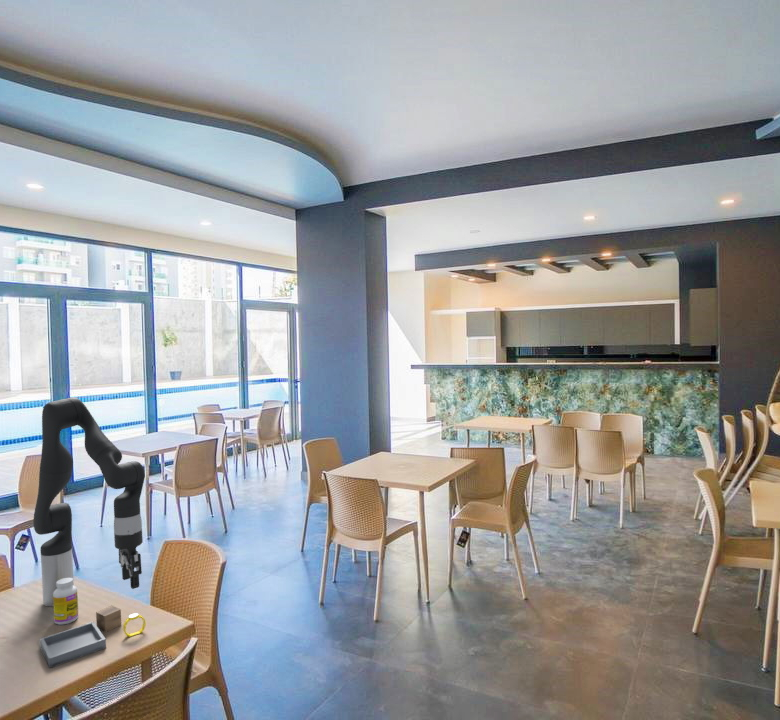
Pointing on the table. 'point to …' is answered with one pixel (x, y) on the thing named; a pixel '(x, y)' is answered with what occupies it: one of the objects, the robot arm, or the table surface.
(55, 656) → the slate tray
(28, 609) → the table surface
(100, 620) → the walnut block
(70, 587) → the supplement bottle
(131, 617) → the watch
